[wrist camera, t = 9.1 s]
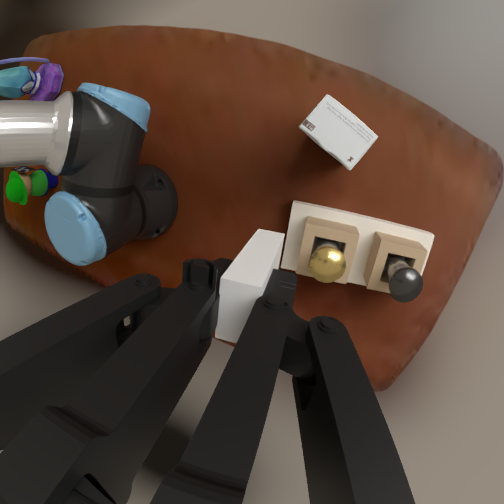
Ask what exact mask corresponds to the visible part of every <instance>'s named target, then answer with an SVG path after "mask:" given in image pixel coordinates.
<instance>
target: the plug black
mask: <svg viewBox="0 0 504 504" xmlns="http://www.w3.org/2000/svg"><path fill="white" fill-rule="evenodd" d="M384 269H385V271H386V273H387V275H388V277H389V279H390V280H389V291H390V293H391V295H392V297H393V298H394V299H395V300H397V301H399V302H409V301H412V300H413V299H415V298H416V297H417V296H418V295H419V294H420V292H421V290H422V287H423V279H422V277H421V275H420V274H419V272H418V271H417V270H416V269H415V268H412V267H409V265H408V264H407V262H406V261H405V260H404V258H403V257H402V256H401V255H397V254H393V253H388V256H387V259H386V262H385V266H384Z"/></svg>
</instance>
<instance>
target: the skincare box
mask: <svg viewBox="0 0 504 504" xmlns="http://www.w3.org/2000/svg"><path fill="white" fill-rule="evenodd" d="M299 128H300V129H301V130H302V131H304V132H305V133H306V134H307V135H308V136H309V137H310V138H311V139H312V140H313V141H314V142H315V143H316V144H318V145H319V146H320V147H321V148H322V149H324V150H325V151H326V152H328V153H329V154H330V155H331V156H333V157H334V158H335V159H337V160H338V161H339V162H340V163H341V164H342V165H344V166H345V167H346V168H347V169H348V170H351V169H352V168H353V167H354V166H355V165H356V164H357V162H358V161H359V160H360V159H361V158H362V156H363V155H364V154H365V153H366V152H367V150H368V149H369V148H370V147H371V145H372V144H373V143H374V142H375V140H376V139H377V138H378V136H377V135H376V134H375V133H374V132H373V131H372V130H371V129H370V128H368V127H367V126H366V125H365V124H364V123H363V122H362V121H361V120H360V119H358V118H357V117H356V116H355V115H354V114H353V113H351V112H350V111H349V110H348V109H346V108H345V107H344V106H343V105H341V104H340V103H339V102H338V101H336V100H335V99H334V98H332V97H331V96H330V95H328V94H327V95H326V96H325V97H324V98H323V99H322V101H321V102H320V103H319V104H318V105H317V106H316V107H315V109H314V110H313V111H312V112H311V113H310V114H309V115H308V117H307V118H306V119H305V120H304V121H303V122H302V124H301V125H300V126H299Z"/></svg>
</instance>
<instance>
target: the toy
mask: <svg viewBox="0 0 504 504" xmlns="http://www.w3.org/2000/svg"><path fill="white" fill-rule="evenodd" d="M11 170H15V171H18V172H26V171H31V170H36V169H33V168H29V167H25V166H23V167H19V168H14V169H11ZM15 171H12V172H11V173H10V176H9V182H8V184H7V186H6V195H7V197H8V199H9V200H10V201H12V202H19V203H20V204H21V205H25V204H26V203H27V196H29V194H31V195H34V196H44V195H46V194H47V193H48V190H49V188H53V187H56V186H57V185H58V178H57V176H56V175H51V173H50V172H46V171H45V170H44V169H39V170H37V171H35V172H33V173H32V174H31V175H30V176H29V175H27V174H26V173H17V172H15Z"/></svg>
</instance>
